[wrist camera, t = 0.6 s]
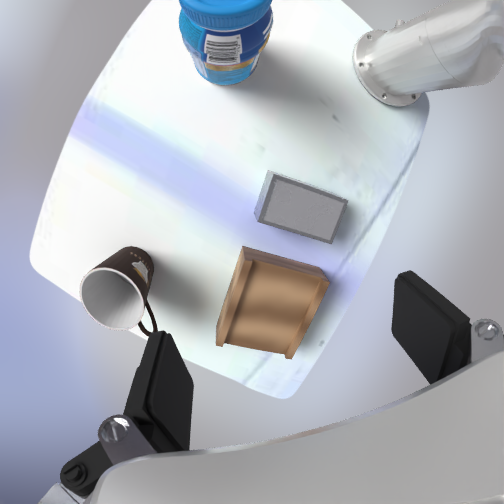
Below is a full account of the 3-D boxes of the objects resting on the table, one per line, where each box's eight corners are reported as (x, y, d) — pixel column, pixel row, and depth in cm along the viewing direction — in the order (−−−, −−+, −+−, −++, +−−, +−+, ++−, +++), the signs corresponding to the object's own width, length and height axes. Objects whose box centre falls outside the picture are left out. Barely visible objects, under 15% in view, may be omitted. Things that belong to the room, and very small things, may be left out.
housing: (267, 170, 36) (274, 174, 31) (334, 193, 38) (349, 201, 33) (253, 212, 38) (257, 222, 33) (319, 232, 40) (332, 245, 35)
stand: (242, 246, 39) (244, 259, 35) (319, 267, 42) (330, 282, 37) (216, 325, 44) (215, 345, 39) (285, 339, 46) (291, 359, 42)
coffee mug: (101, 242, 37) (71, 270, 28) (154, 235, 38) (134, 264, 29) (120, 309, 42) (100, 348, 32) (170, 307, 42) (158, 348, 33)
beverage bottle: (180, 62, 30) (137, -9, 11) (225, 22, 28) (225, -68, 9) (227, 99, 32) (227, 48, 14) (271, 57, 30) (314, -17, 12)
